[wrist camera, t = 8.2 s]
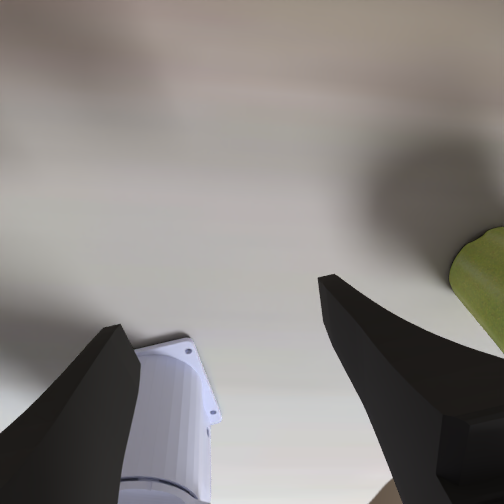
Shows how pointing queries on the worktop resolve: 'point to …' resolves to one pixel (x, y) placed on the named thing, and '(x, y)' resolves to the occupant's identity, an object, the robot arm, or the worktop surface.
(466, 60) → the worktop surface
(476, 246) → the plant pot
